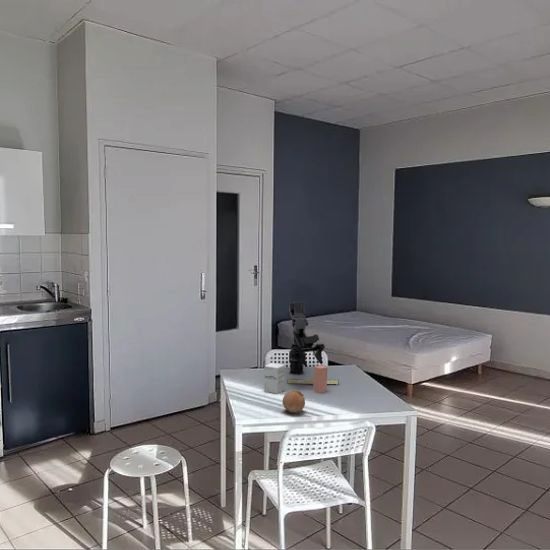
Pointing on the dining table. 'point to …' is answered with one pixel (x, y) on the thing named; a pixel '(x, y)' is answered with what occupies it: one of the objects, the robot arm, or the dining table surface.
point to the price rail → (309, 381)
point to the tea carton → (320, 379)
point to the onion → (294, 401)
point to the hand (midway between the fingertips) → (314, 364)
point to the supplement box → (274, 378)
